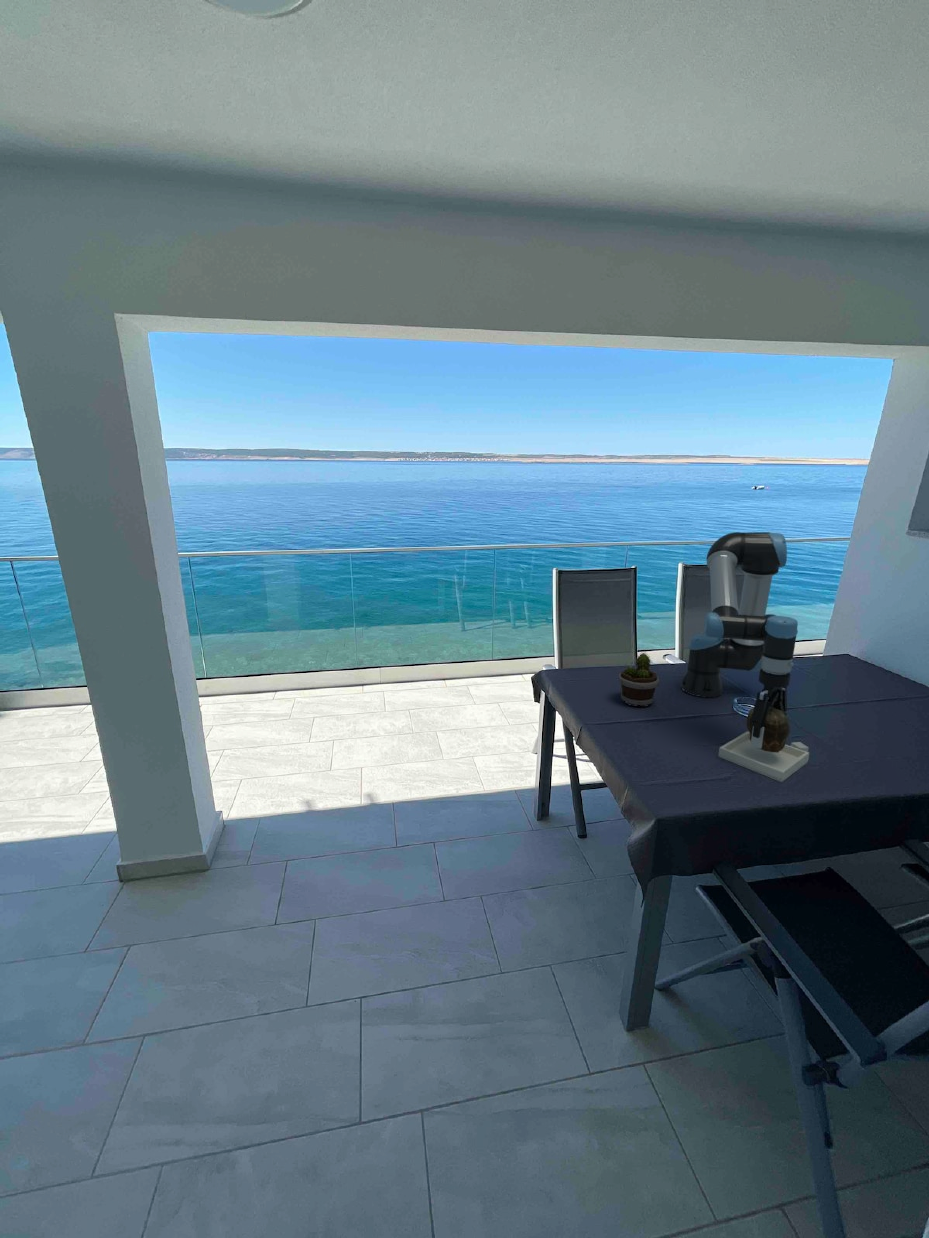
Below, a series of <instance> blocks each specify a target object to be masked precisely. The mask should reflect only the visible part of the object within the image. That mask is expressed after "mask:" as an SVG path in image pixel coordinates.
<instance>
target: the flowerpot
mask: <svg viewBox="0 0 929 1238" xmlns="http://www.w3.org/2000/svg"><path fill="white" fill-rule="evenodd" d="M650 658H651V656H650V655H649V654H647V652H645V651H643V652H641V653H639V654H638V655H637V656H636V659H635V662H634V664H635V667H634V666H628V667H627V665H626V667H625V668H626V669H623V670H622V671H621V672H620V673H619V674H618V676H617V681H618V684H620V685H621V690H622V691H621V692H620V696H621V700H622V701H623V702H624V701H625V702H627V703H628V704H631V706H632V705H640V706H644V707H645V705H649V704H650V705H651V704H653V702H654V699H655V696H654V693H655V692H656V688H658V687H659V686H660V685H659V684H660V678H659V677H658V675H657V674H656V672H653V671H651V667H652V666H653V665H652V664H651V662H653V660H652V658H651V659H650ZM650 705H649V706H650ZM640 706H639V707H640Z"/></svg>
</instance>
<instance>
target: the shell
mask: <svg viewBox="0 0 929 1238" xmlns="http://www.w3.org/2000/svg"><path fill="white" fill-rule="evenodd" d="M753 710H754V707H752V708H751V709H750V710H749V711H748V713H747V716H746V717H747V718H746V728H747V731H748V732H750V741H751V738H752V731H753V726H752V725H750V720H751V717H752V713H753ZM763 727H764V734H763V741H762V748H761V750H764V751H769V752H776V753H779V751H781V750H782V749H783V748H784V746H785V744H786V743H787V738H788V736H790V735H789V734H790V732H791V731H790V730H791V729H790V728H791V727H790V723H789V720H788V717H787V715H785V714H784V713H783V712H782V711H780V710H778V709H775V708H774V707H770V710H769V712H768V715H767V717H766V720H765V722H764V725H763ZM786 745H787V744H786ZM758 749H760V748H758Z"/></svg>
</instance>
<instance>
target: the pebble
mask: <svg viewBox="0 0 929 1238" xmlns="http://www.w3.org/2000/svg"><path fill="white" fill-rule="evenodd" d="M790 746H791V747H794V748H797V749H800V750H803V751H806V752H809V749H810V748H809V746H807V745H805V744H803V743H802V742H801V741H797V742H793V741H792V742H791V743H790Z"/></svg>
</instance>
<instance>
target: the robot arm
mask: <svg viewBox="0 0 929 1238" xmlns="http://www.w3.org/2000/svg"><path fill="white" fill-rule="evenodd" d="M787 549H788V547H787V541H786V537H785V535H783V534H782V533H778V532H771V531H770V532H769V531H768V532H763V531H762V532H738V531H736V532H730V533H727V534H725V535H723V536H721V537H720V538H718V539H717V540H716V541H714V542H713V543H712V544H711V546H710V548H709V550H707V551H708V552H707V554H706V567H707V568H708V569H709V573H710V574H709V577H710V581H709V582H710V602H711V603H710V607H711V612H707V613H706V614H705V619H704V628H703V630H704V632H703V633H698V634H695V635H693V636H692V637H691V638H690V644H689V647H688V648H689V652H688V663H687V669H686V672H685V674H684V677H683V679H682V681H681V683H680V688H681V687H682V688H683V689H684V690H685V691H687V692H689V693H691V694H694V695H700V696H705V697H704V698H706V697H713V698H717V697H716V696H719V695H721V696H722V695H723V684H722V680H721V676H720V672H721V669H727V670H734V671H735V670H736V671H737V670H738V671H746V672H759V675H758V681H759V683H760V684H762V685H763V689H762V691H760V690H759V691H757V694H756V699H755V703H754V707H753V708H754V710H753V713H752V717H751V720H750V725H752V726H753V731H752V738H751V746H754V747H757V748H760V749H761V748H762V741H763V734H764V727H763V725H764V722H765V720H766V717H767V715H768V712H769V710H770V707H774V708H775V709H778V710H780V711H782V712H783V713H784V714H785V715H786V716H787V714H788V713H787V711H788V697H787V695H788V693H787V691H788V686H789V685H790V682H791V681H790V680H791V673H790V672H792V667H793V666H794V665H795V664H794V662H793V659H794V653H795V647H796V640H797V635H798V631H799V630H798V626H799V625H798V620H797V619H795V618H793V617H789V616H784V615H776V614H774V613H766V612H767V607H768V602H769V596H770V590H771V587H772V586H771V585H772V579H773V576H775V575H777V574H778V573H779V570H780V568H784V567H785V566H786V564H787V561H788V560H787V559H788V551H787ZM737 566H741V567H740V570H741V572H742V573H744V577H743V583H742V591H741V596H740V605H738V594H737V593H738V592H737V579H736V567H737ZM694 695H693V696H694ZM719 697H720V696H719Z"/></svg>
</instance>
